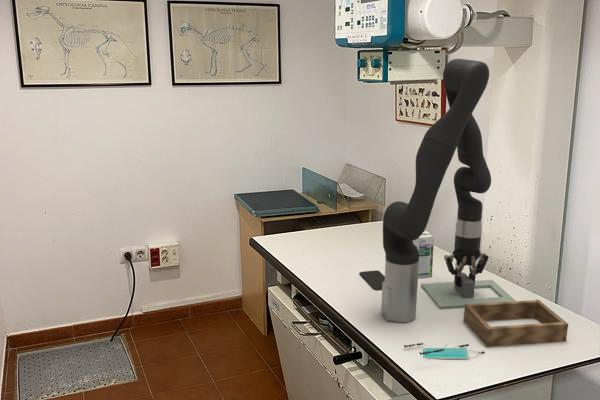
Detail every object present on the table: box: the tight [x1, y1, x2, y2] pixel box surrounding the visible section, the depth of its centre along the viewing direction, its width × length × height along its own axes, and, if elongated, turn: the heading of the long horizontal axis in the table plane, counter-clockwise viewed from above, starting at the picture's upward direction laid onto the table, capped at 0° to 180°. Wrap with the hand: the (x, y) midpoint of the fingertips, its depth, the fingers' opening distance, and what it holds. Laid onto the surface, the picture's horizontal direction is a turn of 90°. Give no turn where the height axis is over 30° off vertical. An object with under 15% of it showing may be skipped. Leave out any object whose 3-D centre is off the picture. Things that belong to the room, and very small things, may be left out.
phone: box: [358, 270, 385, 291], centre depth 196 cm, size 7×1×15 cm
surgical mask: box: [403, 342, 486, 362], centre depth 150 cm, size 21×4×10 cm
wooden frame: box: [463, 299, 569, 348], centre depth 161 cm, size 22×15×5 cm
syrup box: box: [413, 230, 435, 279], centre depth 199 cm, size 6×6×14 cm
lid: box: [420, 272, 517, 310], centre depth 184 cm, size 24×17×6 cm
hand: (464, 285), depth 184 cm, fingers open, 3 cm apart
